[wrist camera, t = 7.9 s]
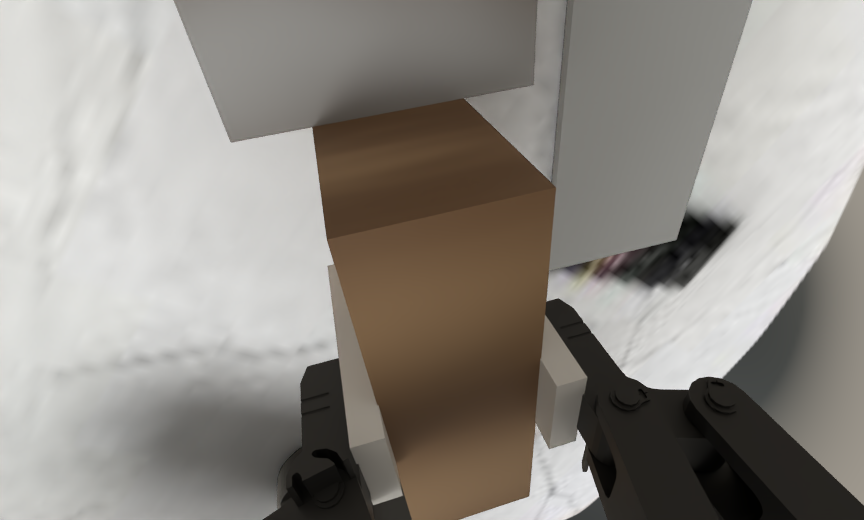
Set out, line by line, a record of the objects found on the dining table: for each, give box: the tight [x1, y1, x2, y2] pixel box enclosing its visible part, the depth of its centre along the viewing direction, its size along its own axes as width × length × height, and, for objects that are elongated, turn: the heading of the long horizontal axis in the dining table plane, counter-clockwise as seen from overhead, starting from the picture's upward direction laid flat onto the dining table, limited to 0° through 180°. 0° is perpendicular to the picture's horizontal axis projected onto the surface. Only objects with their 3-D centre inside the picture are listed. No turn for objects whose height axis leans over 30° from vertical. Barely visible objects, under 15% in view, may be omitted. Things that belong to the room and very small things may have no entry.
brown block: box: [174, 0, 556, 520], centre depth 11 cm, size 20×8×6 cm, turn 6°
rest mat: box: [549, 0, 752, 271], centre depth 24 cm, size 24×10×1 cm, turn 5°
